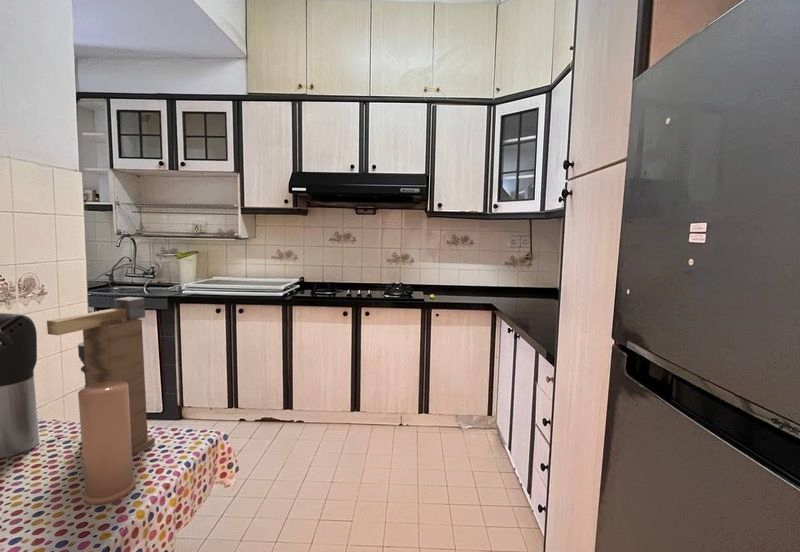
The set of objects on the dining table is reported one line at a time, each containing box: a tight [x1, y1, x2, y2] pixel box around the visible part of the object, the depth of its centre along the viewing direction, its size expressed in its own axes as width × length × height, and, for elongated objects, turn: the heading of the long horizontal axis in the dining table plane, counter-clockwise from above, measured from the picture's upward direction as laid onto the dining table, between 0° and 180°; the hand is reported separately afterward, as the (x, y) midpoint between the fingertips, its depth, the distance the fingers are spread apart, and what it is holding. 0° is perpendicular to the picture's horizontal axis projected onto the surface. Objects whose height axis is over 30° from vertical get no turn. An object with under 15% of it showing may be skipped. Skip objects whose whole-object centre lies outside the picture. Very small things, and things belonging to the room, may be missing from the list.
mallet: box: [46, 296, 146, 336], centre depth 89 cm, size 5×19×5 cm, turn 164°
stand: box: [82, 318, 156, 458], centre depth 94 cm, size 10×10×33 cm
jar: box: [77, 381, 136, 506], centre depth 80 cm, size 9×9×22 cm
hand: (7, 316), depth 73 cm, fingers open, 8 cm apart
